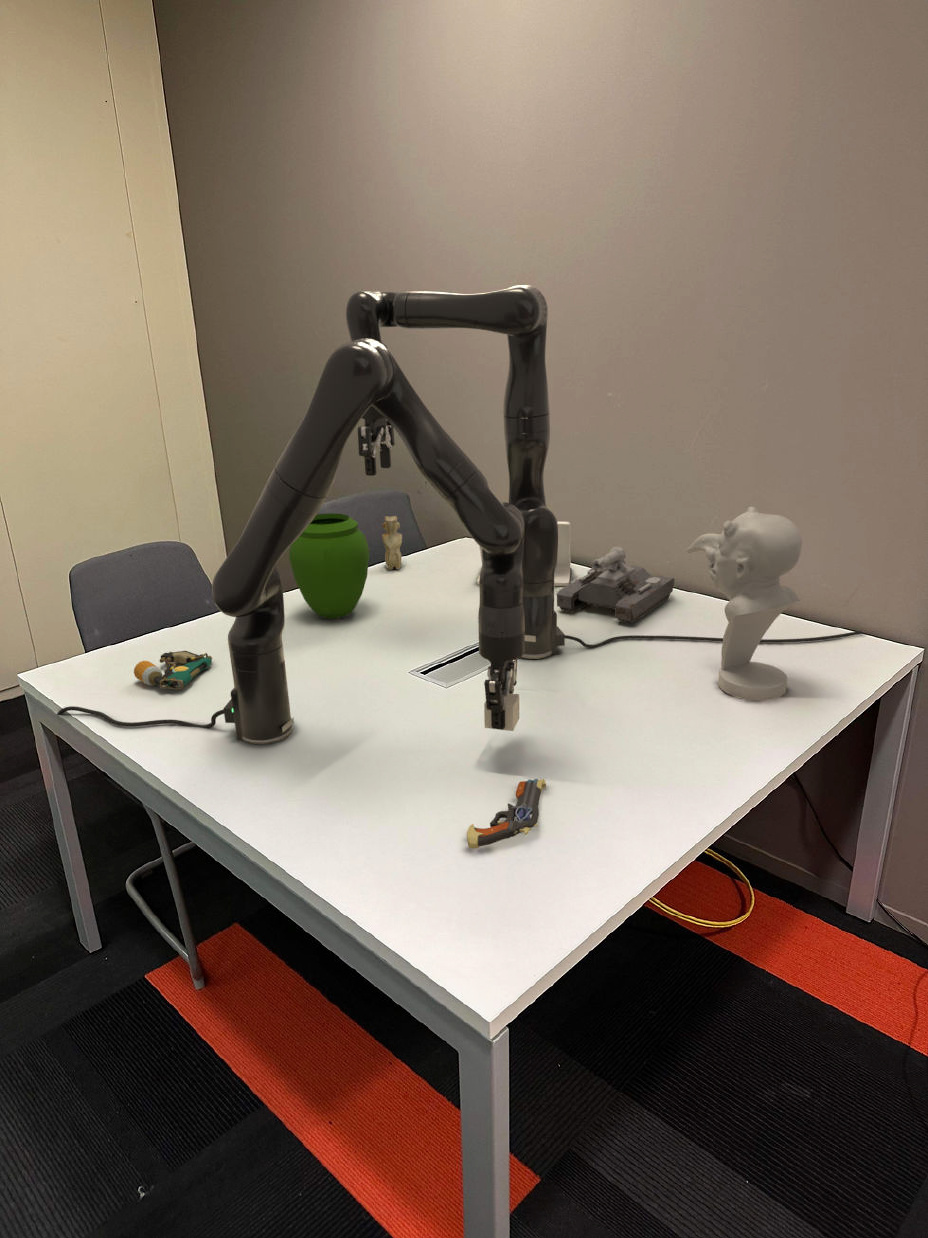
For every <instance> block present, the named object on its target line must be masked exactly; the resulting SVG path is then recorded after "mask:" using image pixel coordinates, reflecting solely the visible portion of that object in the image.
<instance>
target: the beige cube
mask: <svg viewBox="0 0 928 1238" xmlns="http://www.w3.org/2000/svg"><path fill="white" fill-rule="evenodd" d="M494 702H498V701H496V700H494ZM486 706H487V705H486V701H484V703H483V709H484V710H483V713H484V716H483V717H484V721H483V722H484V728H485V729H491V730H494V729H493V728H492V726H491V710H487V707H486ZM519 720H520V694H519V693H509V695H507V696H506V708H505V727H504V729H502V730H501V729H498V730H499V731H506V732H507V731H508V732H514V730H515V728H516V726H517V724H518V722H519Z"/></svg>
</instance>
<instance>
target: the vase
mask: <svg viewBox="0 0 928 1238" xmlns="http://www.w3.org/2000/svg"><path fill="white" fill-rule="evenodd" d="M358 524H359V523H358V521H356V520H355V519H353V518H352V517H350V516H349V515H347V514H344V513H335V512H334V513H333V512H331V513H320V514H319V513H317V515H316V516H315V518H314V519H313V520H312V522H311V523H310V524H309V525H308V527H307V528H306V529H305V530H304V531H303V533H302V534H301V535H300V536H299V537H298V538H297V539H296V541H295V542H294V543H293V544H292V545H291V546H290V547H289V551H288V559H289V564H290V566H291V567H290V568H291V570H292V575H293V578H294V581H295V584H296V586H297V587H298V589H299V591H300V593H301V596H302V597H303V600H304V601H305V603H306V604H307V605H308V607H309V608H310V609H311V611H312V612H314V613H315V614H316V615H317V616H318V617H320V618H324V619H326V620H327V619H329V620H336V619H341V618H345V617H347V616H349V615H350V614H351V613H352V612H353V611H354V610H355V608H356V607H357V605H358V604H359V601H360V599H361V597H362V595H363V592H364V588H365V586H366V581H367V578H368V570H369V561H370V560H369V559H370V548H369V545H368V541H367V537H366V535H365V534H364V533H363V532H362V531H361V530H360V529H359V527H358Z"/></svg>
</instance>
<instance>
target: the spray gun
mask: <svg viewBox="0 0 928 1238" xmlns="http://www.w3.org/2000/svg"><path fill="white" fill-rule="evenodd" d="M212 660H213V657H212V656H211V655H208V653H207V652H205V653H201V654H197V653H194V652H192V651H191V652H190V651H188V650H180V651H169V652H164V653H162V654H161V655H160V658H159V660H158V662H159V663H161V664H163V663H165V664H166V668H165V670H163V672H164V674H163V673H162V669H160V668H159V666H157V665H156V664H154V663H152V662H151V661H149V660H141V661H139V662H138V663H136V665H135V666H134V668H133V675H134V677H135V678H136V679H137V680H139V681H140V682H142V683H143V684H145V685H147V686H155V685H157V686H158V687H160V688H161V689H171V690H172V689H173V690H182V689H184V687H185V686H186V685H188V684H189V683H190V682H191V681H192V679H193V678H195V677H196V676H197V675H198V674H200V673H201V672H202V671H203V670H206V669H208V668H209V667H210V666H211V665H212V662H213V661H212ZM178 663H179V664H181V665H179V666H176V665H177V664H178Z"/></svg>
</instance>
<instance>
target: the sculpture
mask: <svg viewBox="0 0 928 1238" xmlns="http://www.w3.org/2000/svg"><path fill="white" fill-rule="evenodd" d="M400 527H401V524H400V522H399V521H398V517H397V515H392V516H389V515H388V516H386V515H385V516H384V522H383V523H382V528H383V529H384V531H386V533H383V534H382V535H381V538H382V543H383V546H384V548H385V553H384V561H385V565H386V567H387V570H393V569H395V570H400V569H401V565H402V557H403V556H402V553H401V546H402V543H403V535H402V533H400V532H398V530H399V529H400Z"/></svg>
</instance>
